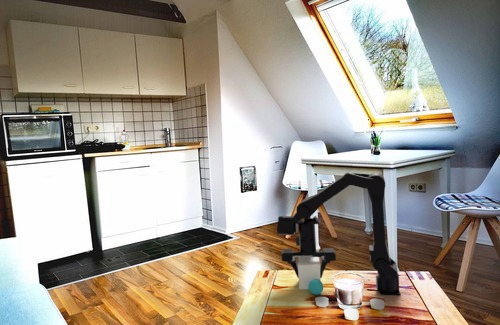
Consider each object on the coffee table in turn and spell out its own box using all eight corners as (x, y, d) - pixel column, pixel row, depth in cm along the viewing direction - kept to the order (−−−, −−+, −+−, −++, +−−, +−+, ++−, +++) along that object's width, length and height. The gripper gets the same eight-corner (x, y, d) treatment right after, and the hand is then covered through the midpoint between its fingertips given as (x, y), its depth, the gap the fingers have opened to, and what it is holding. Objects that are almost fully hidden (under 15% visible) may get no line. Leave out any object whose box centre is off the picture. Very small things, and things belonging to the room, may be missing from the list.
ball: (323, 290, 126) (322, 276, 125) (324, 297, 121) (323, 282, 120) (308, 290, 126) (307, 276, 126) (308, 297, 122) (308, 283, 121)
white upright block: (320, 280, 134) (318, 256, 133) (321, 289, 127) (319, 264, 126) (299, 280, 135) (298, 257, 134) (299, 289, 128) (297, 265, 127)
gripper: (332, 228, 136) (334, 268, 137) (282, 229, 139) (284, 269, 140) (334, 237, 125) (337, 281, 126) (280, 238, 128) (283, 281, 129)
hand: (309, 277), depth 131 cm, fingers closed on white upright block, 7 cm apart
